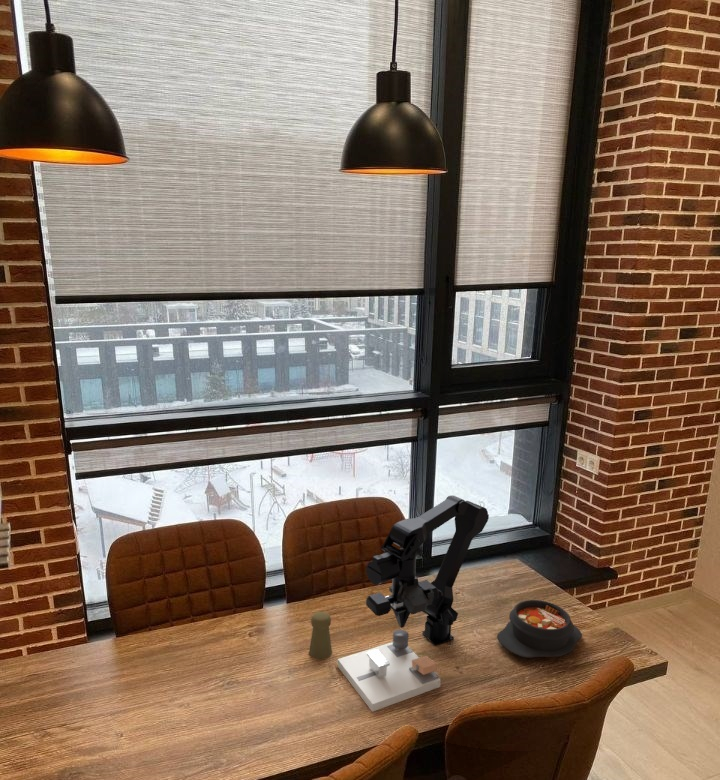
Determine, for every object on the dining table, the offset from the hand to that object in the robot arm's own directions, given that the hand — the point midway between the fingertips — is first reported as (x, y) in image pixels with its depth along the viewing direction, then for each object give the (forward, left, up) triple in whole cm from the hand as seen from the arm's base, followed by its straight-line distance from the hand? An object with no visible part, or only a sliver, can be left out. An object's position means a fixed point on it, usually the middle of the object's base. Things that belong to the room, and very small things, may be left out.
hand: (401, 626), depth 160 cm
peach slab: (0, +11, -4) cm, 12 cm away
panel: (+7, +6, -9) cm, 12 cm away
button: (0, 0, -5) cm, 5 cm away
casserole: (-38, +12, -9) cm, 41 cm away
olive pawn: (+18, -10, -9) cm, 23 cm away
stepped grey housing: (+10, +6, -7) cm, 13 cm away
